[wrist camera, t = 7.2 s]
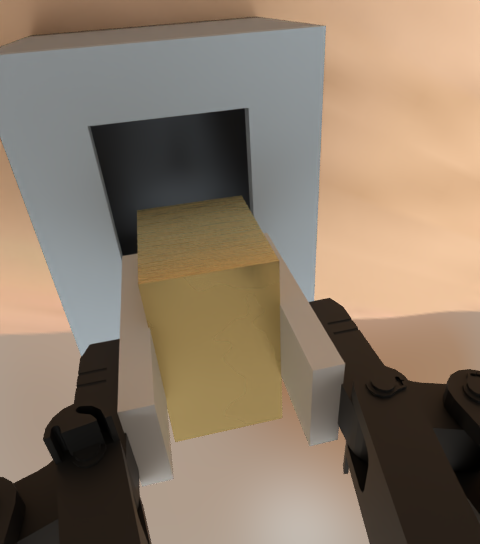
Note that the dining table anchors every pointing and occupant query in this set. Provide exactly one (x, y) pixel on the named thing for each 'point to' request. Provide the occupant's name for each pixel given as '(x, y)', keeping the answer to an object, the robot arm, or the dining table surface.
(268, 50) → the grey box with opening
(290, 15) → the dining table surface
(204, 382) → the rectangular block
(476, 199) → the dining table surface
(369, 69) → the dining table surface
